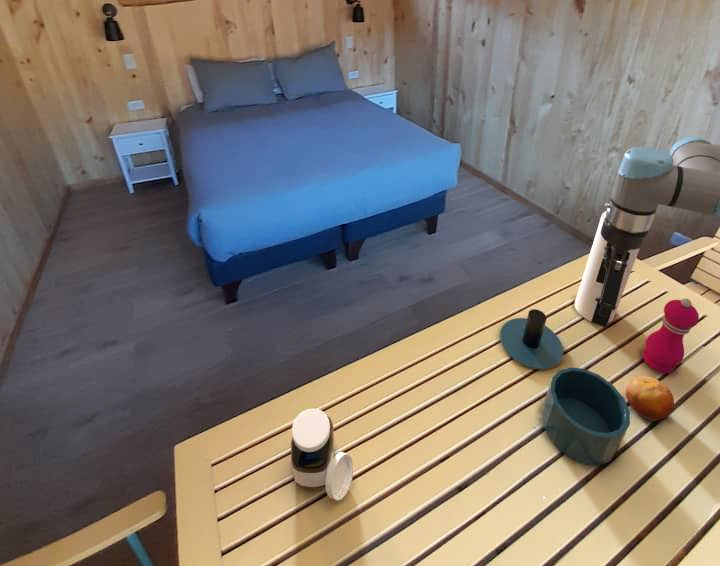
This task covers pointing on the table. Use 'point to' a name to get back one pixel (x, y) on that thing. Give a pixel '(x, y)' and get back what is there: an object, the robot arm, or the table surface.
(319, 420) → the spread jar
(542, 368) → the lid
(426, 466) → the table surface
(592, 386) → the pot
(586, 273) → the cylinder container
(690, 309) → the pepper mill
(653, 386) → the fruit
